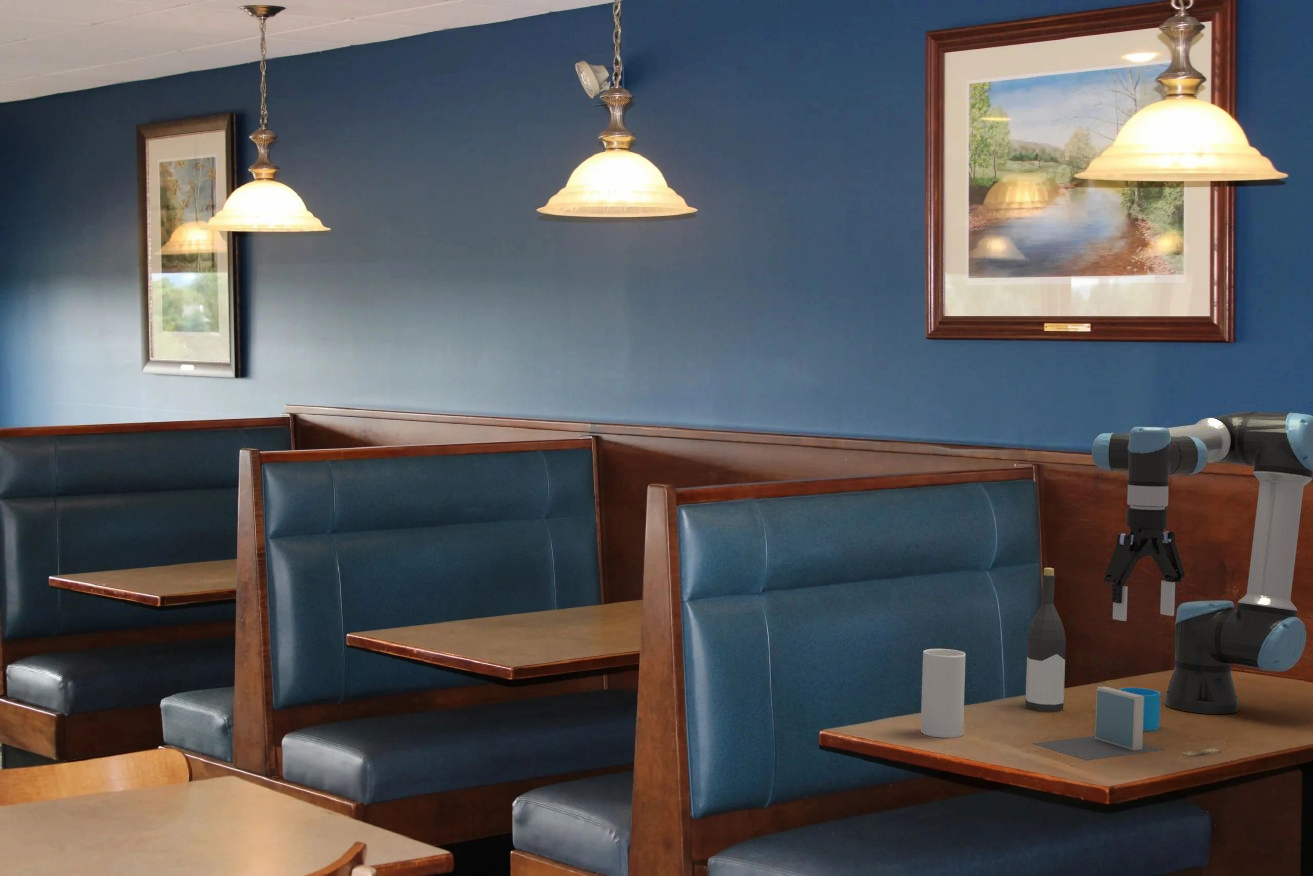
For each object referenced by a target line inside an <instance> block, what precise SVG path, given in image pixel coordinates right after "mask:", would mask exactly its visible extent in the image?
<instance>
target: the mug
mask: <svg viewBox="0 0 1313 876" xmlns="http://www.w3.org/2000/svg"><path fill="white" fill-rule="evenodd" d="M1118 690H1121V691H1125V692H1129V693H1133V694H1137V695H1141V696H1144V711H1143V732H1144V731H1157V730H1159V729H1160V725H1161V724H1160V723H1161V722H1160V721H1161V699H1162V698H1161V696H1162V695H1161V694H1162V693H1161V692H1160V691H1159V690H1158V691H1157V690H1154V689H1150V688H1144V687H1121V688H1119V689H1118Z"/></svg>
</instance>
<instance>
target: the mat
mask: <svg viewBox="0 0 1313 876" xmlns="http://www.w3.org/2000/svg"><path fill="white" fill-rule="evenodd" d="M1032 745H1036V746H1038V747H1042V748H1045V749H1049V750H1051V751H1054V752H1058V753H1061V754H1064V755H1068V756H1070V757H1074V758H1076V759H1080V760H1082V761H1083V760H1084V761H1092V760H1098V759H1106V758H1114V757H1121V756H1128V755H1130V756H1131V755H1137V754H1143V753H1144V754H1145V753H1152V752H1159V751H1160V752H1161V751H1165V749H1164V748H1161V747H1157V746H1154V745H1150V744H1147V743H1144V742H1142V749H1140V750H1131V749H1128V748H1124V747H1121V746H1118V745H1114V744H1111V743H1108V742H1104V741H1101V740H1097V739H1095V735H1090V736H1082V737H1075V738H1072V737H1071V738H1067V739H1057V740H1048V741H1041V742H1032Z"/></svg>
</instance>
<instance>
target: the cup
mask: <svg viewBox="0 0 1313 876" xmlns="http://www.w3.org/2000/svg"><path fill="white" fill-rule="evenodd" d="M921 672H922V673H921V674H922V679H921V707H920V708H921V709H920V714H921V715H920V733H921V734H922V733H923V734H922V735H925V736H929V737H933V738H942V739H944V738H947V739H949V738H960V737H962V736H963V735H964V714H965V713H964V710H965V682H966V681H965V680H966V652H965V651H962V650H957V649H948V648H947V649H946V648H929V649H925V650H923V651H922V671H921Z"/></svg>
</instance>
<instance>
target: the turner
mask: <svg viewBox="0 0 1313 876" xmlns="http://www.w3.org/2000/svg"><path fill="white" fill-rule="evenodd" d="M1221 752H1222V751H1221V750H1220V749H1217V748H1207V749H1206V748H1205V749H1200V750H1194V751H1193V750H1192V751H1186V752H1182V756H1185V757H1188V758H1193V757H1195V758H1196V757H1201V756H1207V755H1208V756H1209V755H1217V754H1221Z"/></svg>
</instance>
